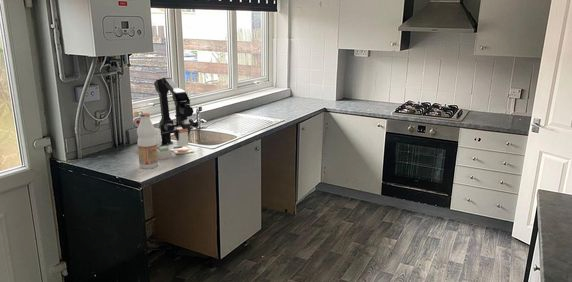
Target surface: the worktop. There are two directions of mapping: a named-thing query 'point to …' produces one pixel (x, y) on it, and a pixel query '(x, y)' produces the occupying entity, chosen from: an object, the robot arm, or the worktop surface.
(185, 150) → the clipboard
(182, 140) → the white pill bottle
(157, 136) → the mug
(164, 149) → the button
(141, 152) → the fruit juice
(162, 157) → the button base
